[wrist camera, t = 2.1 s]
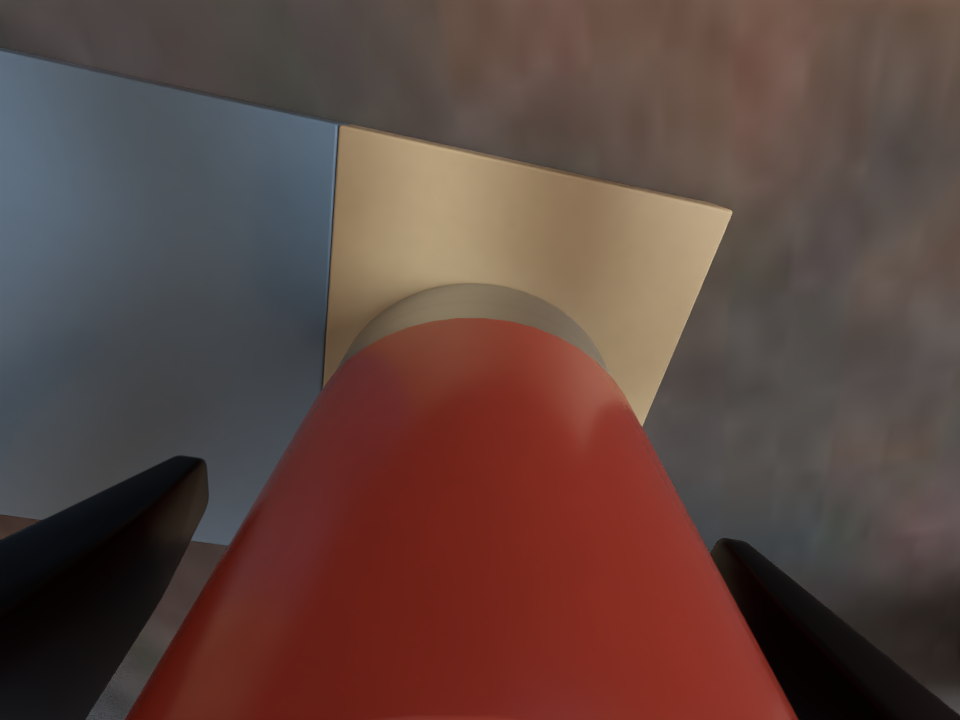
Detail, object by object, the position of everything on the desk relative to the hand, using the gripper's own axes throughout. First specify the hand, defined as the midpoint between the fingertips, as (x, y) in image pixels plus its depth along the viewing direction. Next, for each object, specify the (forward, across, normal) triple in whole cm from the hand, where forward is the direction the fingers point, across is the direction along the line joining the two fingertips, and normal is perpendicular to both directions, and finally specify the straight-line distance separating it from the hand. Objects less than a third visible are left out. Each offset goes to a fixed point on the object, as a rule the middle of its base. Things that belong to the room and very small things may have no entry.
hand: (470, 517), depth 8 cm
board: (+4, +8, 0) cm, 9 cm away
